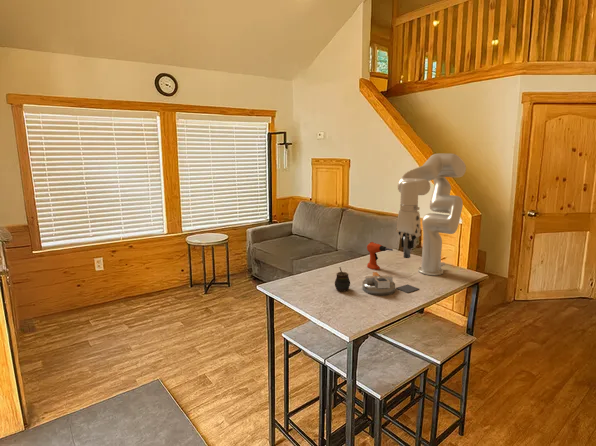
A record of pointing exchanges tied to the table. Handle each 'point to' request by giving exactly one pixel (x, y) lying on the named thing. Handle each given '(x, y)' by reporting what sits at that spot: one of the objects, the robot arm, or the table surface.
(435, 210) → the robot arm
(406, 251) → the grey pestle
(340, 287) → the mate gourd
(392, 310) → the table surface
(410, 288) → the mat
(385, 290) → the chuck base
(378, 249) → the toy drill
